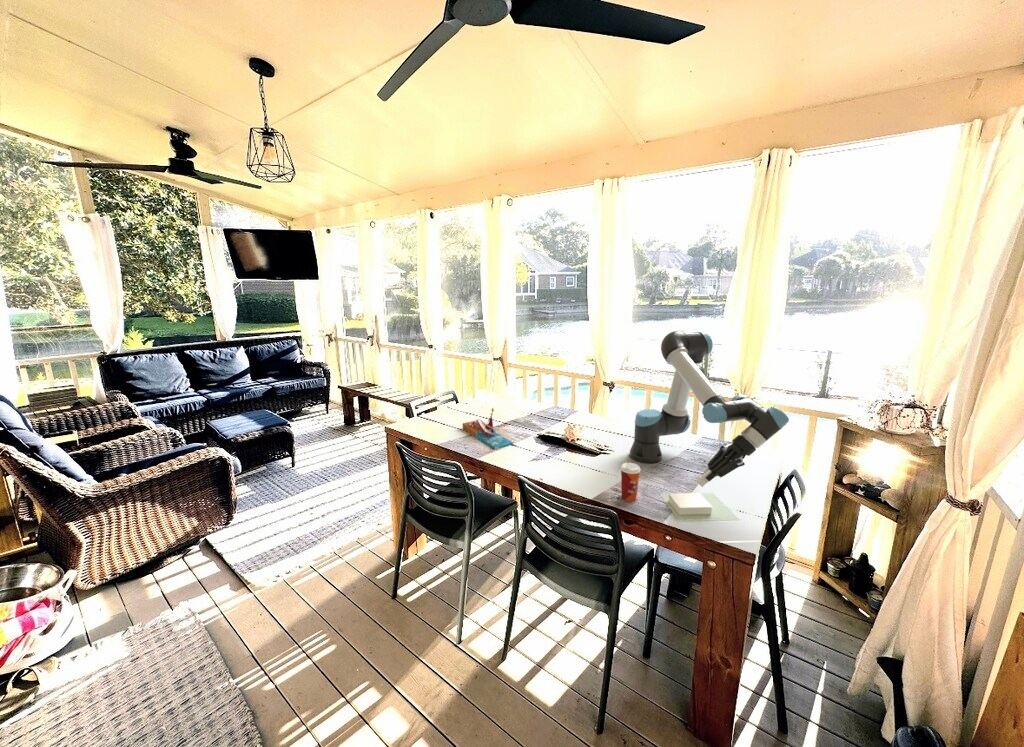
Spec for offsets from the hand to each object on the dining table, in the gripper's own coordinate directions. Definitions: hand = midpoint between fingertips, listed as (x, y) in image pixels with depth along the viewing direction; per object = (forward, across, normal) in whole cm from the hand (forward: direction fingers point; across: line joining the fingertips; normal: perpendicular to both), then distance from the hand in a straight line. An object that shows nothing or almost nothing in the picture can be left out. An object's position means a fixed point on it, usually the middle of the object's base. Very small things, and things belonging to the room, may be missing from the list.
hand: (698, 483), depth 150 cm
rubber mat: (+7, +1, -8) cm, 11 cm away
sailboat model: (+68, +78, +52) cm, 115 cm away
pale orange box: (+4, 0, -8) cm, 9 cm away
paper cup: (+24, +9, +9) cm, 27 cm away
